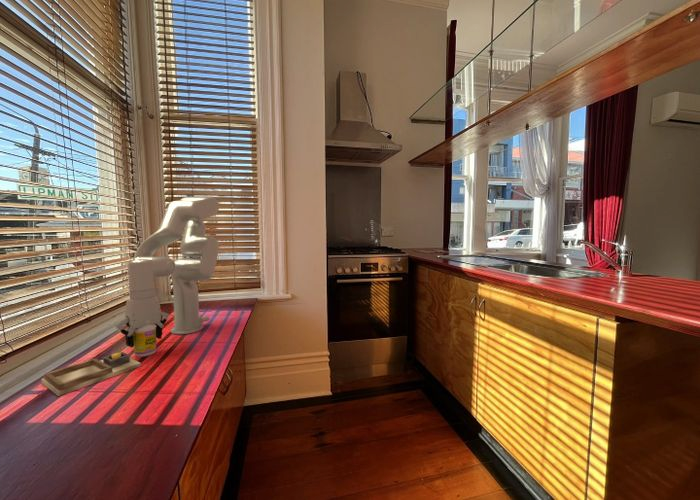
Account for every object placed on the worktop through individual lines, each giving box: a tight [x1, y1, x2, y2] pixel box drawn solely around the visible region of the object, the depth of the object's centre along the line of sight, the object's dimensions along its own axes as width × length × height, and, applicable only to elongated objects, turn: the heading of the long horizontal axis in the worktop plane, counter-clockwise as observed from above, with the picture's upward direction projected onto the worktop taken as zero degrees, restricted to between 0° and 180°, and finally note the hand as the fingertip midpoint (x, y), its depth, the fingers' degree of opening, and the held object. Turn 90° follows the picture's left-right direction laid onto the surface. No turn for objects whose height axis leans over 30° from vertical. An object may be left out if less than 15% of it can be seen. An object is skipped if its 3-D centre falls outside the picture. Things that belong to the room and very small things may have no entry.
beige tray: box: [41, 351, 142, 397], centre depth 92 cm, size 20×13×3 cm, turn 150°
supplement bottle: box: [132, 320, 158, 358], centre depth 107 cm, size 7×7×13 cm
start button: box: [111, 352, 121, 360], centre depth 97 cm, size 2×2×3 cm
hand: (145, 341), depth 107 cm, fingers open, 8 cm apart
